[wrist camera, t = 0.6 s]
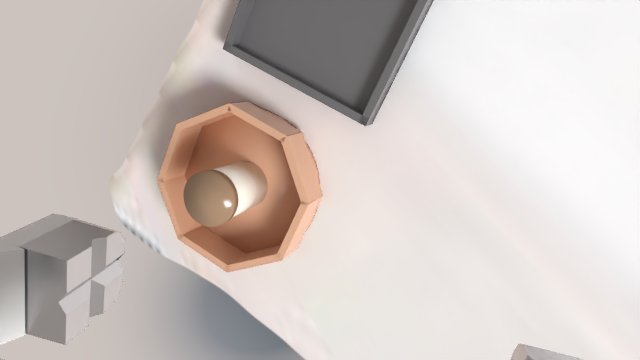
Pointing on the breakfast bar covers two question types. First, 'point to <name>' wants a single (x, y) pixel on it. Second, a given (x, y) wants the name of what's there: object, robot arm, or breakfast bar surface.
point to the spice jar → (224, 192)
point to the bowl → (230, 147)
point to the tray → (329, 46)
